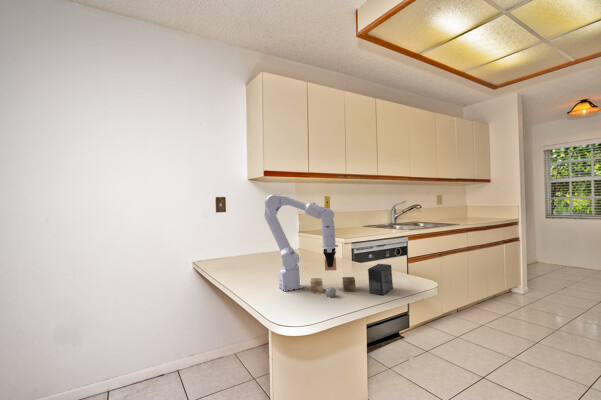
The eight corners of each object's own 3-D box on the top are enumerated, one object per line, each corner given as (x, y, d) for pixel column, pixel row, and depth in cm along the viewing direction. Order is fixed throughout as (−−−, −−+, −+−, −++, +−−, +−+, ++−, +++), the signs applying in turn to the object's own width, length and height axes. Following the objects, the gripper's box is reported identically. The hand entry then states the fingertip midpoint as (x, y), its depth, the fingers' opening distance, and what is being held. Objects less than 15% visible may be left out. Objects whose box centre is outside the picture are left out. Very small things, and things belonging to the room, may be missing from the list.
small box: (379, 286, 131) (378, 263, 131) (393, 288, 127) (392, 264, 127) (368, 293, 123) (367, 268, 123) (383, 295, 119) (381, 269, 119)
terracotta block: (325, 270, 131) (324, 259, 131) (325, 267, 136) (324, 257, 136) (336, 270, 131) (335, 258, 131) (336, 267, 136) (335, 256, 136)
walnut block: (343, 292, 126) (343, 280, 126) (343, 288, 131) (342, 277, 131) (355, 291, 126) (355, 280, 126) (354, 288, 131) (354, 276, 131)
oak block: (311, 293, 128) (310, 281, 128) (311, 289, 133) (310, 278, 133) (322, 292, 127) (321, 281, 127) (322, 289, 132) (322, 277, 132)
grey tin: (329, 298, 119) (328, 291, 119) (324, 295, 123) (324, 288, 123) (337, 296, 121) (337, 289, 121) (332, 294, 125) (332, 286, 125)
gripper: (338, 237, 126) (339, 269, 126) (337, 233, 140) (338, 261, 140) (321, 238, 126) (323, 269, 127) (322, 233, 141) (323, 262, 141)
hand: (330, 265), depth 133 cm, fingers closed on terracotta block, 5 cm apart
